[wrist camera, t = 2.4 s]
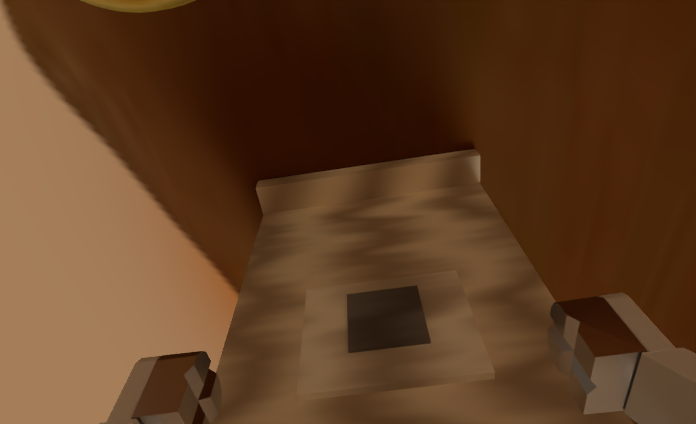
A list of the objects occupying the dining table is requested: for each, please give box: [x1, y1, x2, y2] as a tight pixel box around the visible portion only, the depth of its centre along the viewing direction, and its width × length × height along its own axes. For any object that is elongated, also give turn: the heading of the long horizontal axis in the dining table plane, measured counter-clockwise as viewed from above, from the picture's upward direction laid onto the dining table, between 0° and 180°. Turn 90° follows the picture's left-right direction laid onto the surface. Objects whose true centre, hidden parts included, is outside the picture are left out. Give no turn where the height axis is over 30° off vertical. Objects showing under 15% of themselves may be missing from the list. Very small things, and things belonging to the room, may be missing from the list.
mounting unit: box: [210, 149, 633, 424], centre depth 23 cm, size 16×10×23 cm, turn 99°
